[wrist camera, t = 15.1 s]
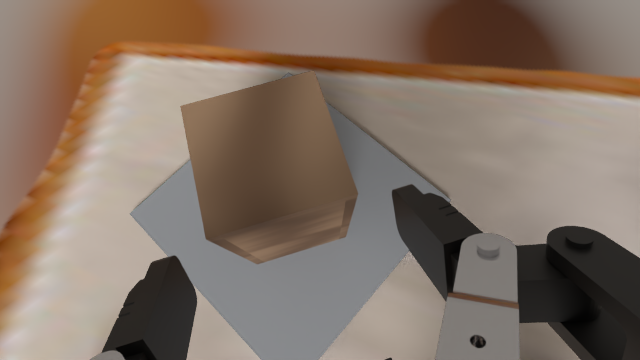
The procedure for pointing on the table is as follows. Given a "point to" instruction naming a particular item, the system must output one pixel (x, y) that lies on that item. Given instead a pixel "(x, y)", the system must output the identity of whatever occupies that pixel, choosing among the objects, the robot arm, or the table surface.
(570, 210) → the table surface
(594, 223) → the table surface
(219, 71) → the table surface
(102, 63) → the table surface
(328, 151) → the walnut block
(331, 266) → the grey mat
